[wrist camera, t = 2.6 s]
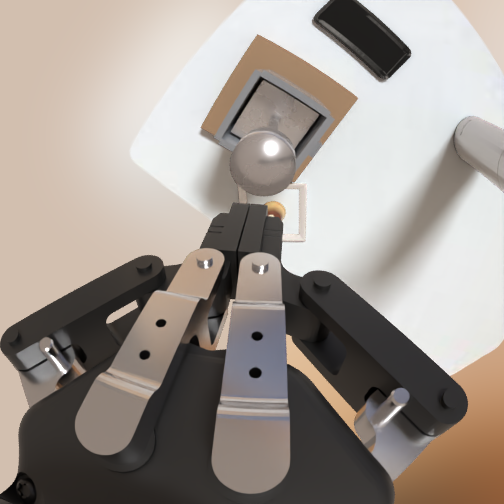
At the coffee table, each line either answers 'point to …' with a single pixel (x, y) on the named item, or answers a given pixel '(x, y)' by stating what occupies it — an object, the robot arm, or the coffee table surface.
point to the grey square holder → (288, 80)
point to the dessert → (279, 211)
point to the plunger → (269, 140)
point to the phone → (364, 35)
